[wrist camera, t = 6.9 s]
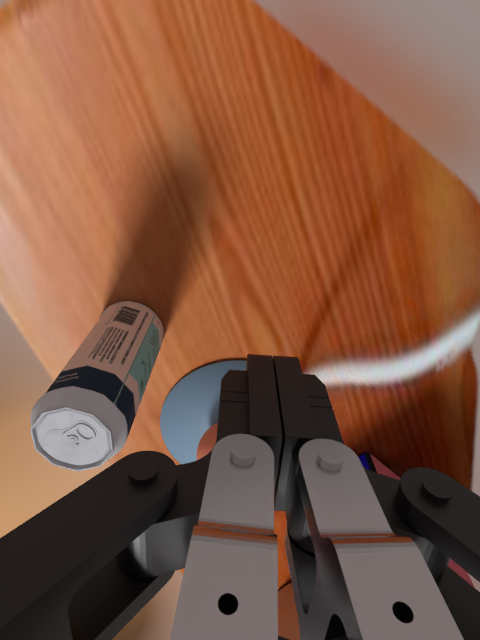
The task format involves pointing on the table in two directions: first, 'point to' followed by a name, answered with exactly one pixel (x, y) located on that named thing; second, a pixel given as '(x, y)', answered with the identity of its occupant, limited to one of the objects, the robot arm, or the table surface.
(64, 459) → the beer can
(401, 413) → the table surface
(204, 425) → the mark
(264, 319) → the table surface
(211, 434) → the ball
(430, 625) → the robot arm
